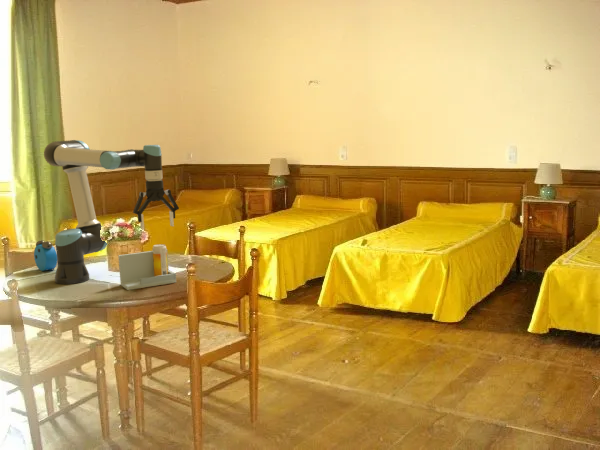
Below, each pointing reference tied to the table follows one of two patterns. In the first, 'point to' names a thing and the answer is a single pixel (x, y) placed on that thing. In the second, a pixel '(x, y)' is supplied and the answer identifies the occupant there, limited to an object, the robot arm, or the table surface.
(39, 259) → the alarm clock
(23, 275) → the table surface
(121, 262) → the stand
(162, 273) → the beer can
